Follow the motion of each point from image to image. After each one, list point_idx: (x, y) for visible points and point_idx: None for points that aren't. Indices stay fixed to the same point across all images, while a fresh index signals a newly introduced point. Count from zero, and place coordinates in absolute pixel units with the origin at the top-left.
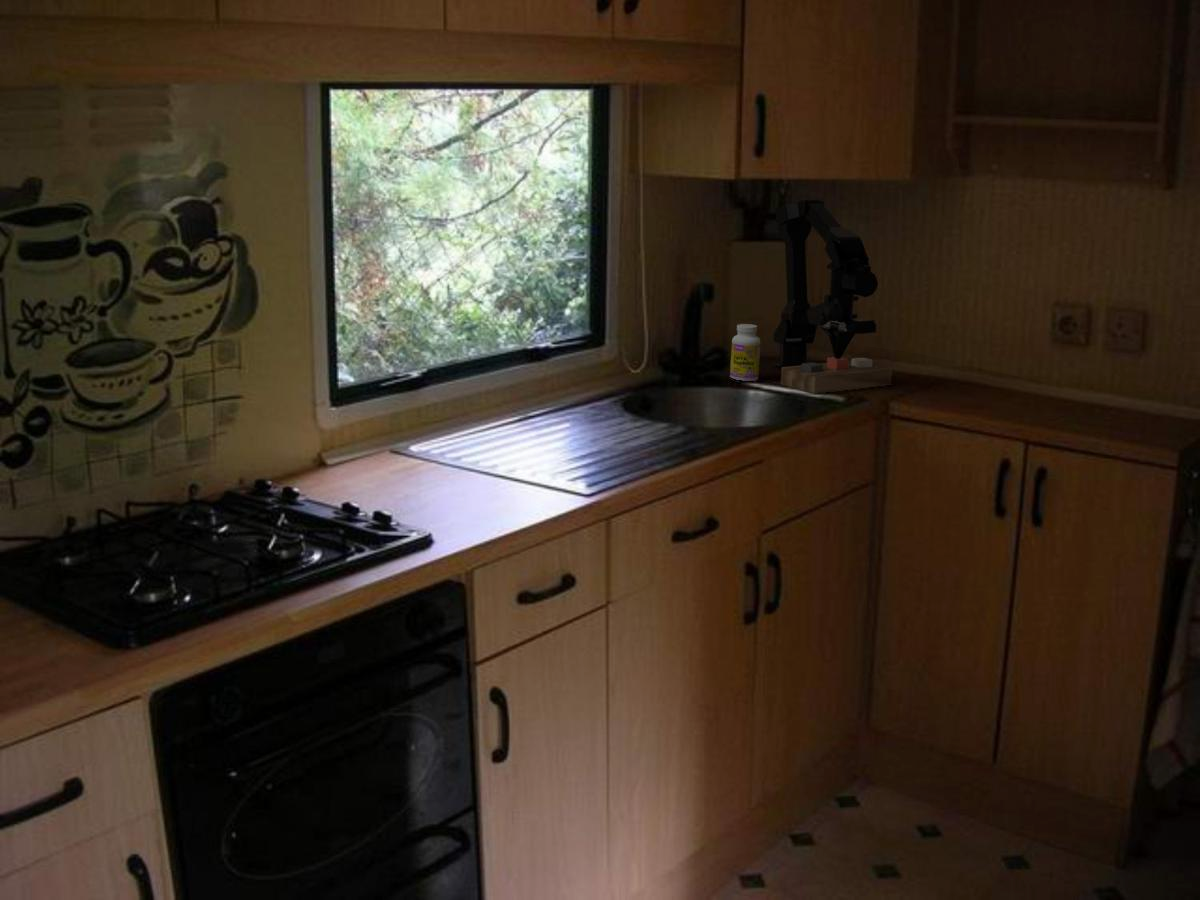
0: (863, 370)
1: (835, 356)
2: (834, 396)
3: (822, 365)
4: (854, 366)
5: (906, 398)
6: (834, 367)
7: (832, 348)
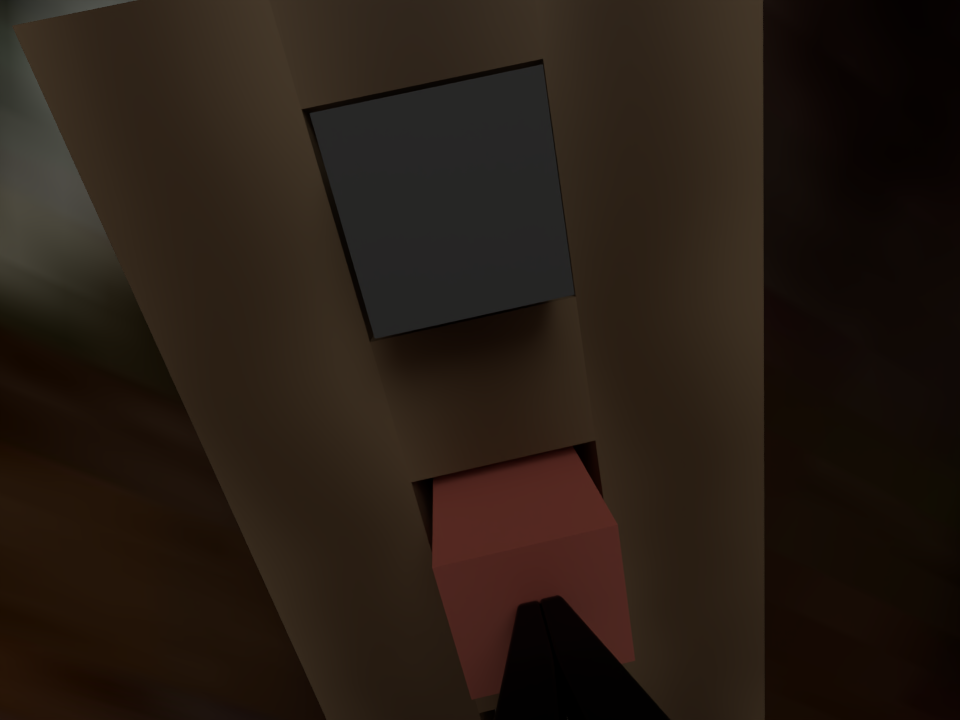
0: (360, 692)
1: (547, 611)
2: (67, 241)
3: (376, 330)
4: None
5: (9, 688)
6: (464, 498)
7: (631, 683)
